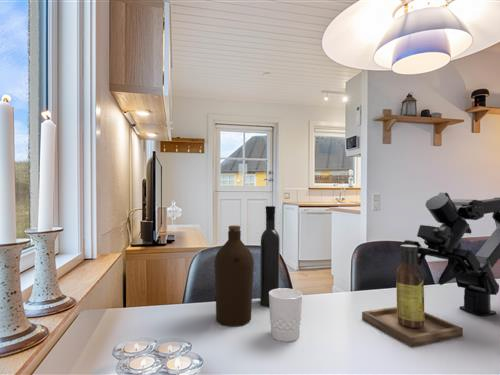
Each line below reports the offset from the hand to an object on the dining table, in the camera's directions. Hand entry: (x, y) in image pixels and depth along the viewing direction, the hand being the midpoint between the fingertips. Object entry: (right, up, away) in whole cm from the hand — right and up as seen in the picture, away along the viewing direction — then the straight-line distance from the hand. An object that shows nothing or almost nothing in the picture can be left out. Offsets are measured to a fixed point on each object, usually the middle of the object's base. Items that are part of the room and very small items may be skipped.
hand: (422, 279), depth 79 cm
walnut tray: (-5, -12, -2) cm, 13 cm away
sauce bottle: (-4, -11, -2) cm, 12 cm away
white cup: (-37, -11, -7) cm, 39 cm away
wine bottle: (-39, -12, +14) cm, 43 cm away
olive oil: (-50, -12, +2) cm, 51 cm away
